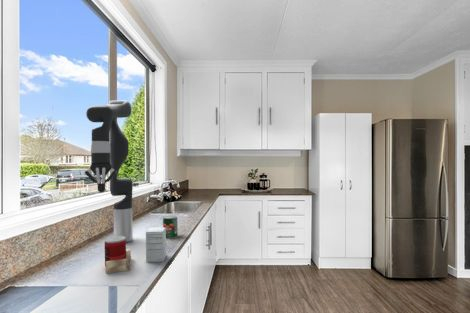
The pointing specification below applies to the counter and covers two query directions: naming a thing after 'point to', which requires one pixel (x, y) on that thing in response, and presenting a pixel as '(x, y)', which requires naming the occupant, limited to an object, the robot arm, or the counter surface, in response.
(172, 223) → the canned tomato
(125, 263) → the wooden bracket
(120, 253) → the canned food
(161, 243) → the supplement box
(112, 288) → the counter surface
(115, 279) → the counter surface
